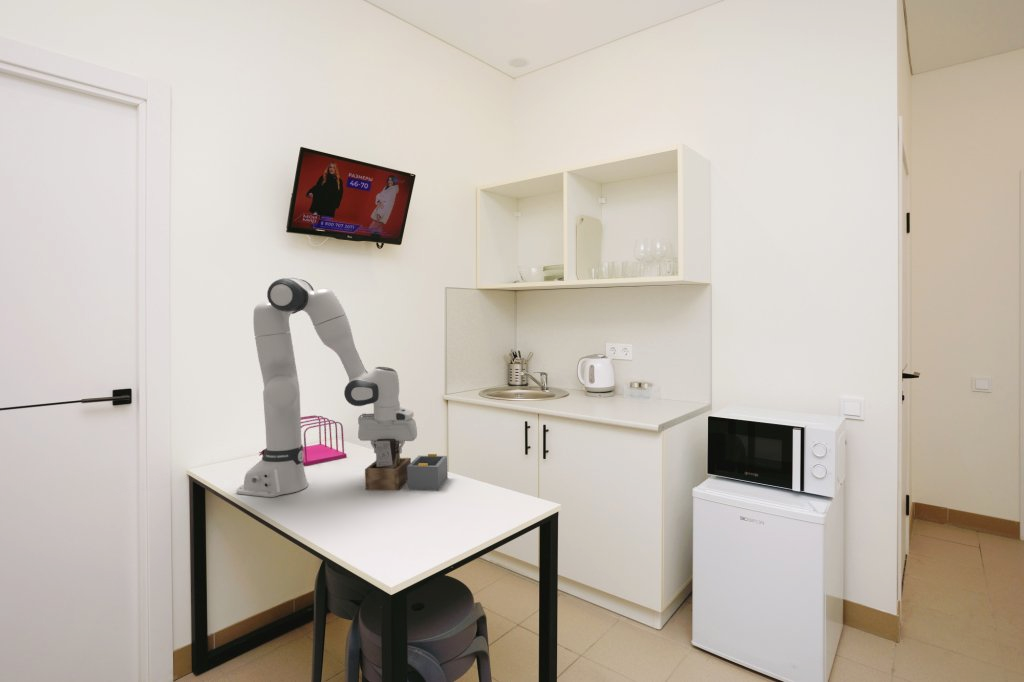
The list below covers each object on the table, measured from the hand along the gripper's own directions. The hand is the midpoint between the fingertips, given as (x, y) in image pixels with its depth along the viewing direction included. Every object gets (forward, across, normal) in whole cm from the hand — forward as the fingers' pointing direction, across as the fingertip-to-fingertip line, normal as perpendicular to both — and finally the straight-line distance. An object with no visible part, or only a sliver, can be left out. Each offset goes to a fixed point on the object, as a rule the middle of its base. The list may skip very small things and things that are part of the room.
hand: (388, 453), depth 184 cm
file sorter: (+11, -44, +33) cm, 56 cm away
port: (+11, +14, 0) cm, 18 cm away
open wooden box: (+11, 0, 0) cm, 11 cm away
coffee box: (+11, 0, 0) cm, 11 cm away
